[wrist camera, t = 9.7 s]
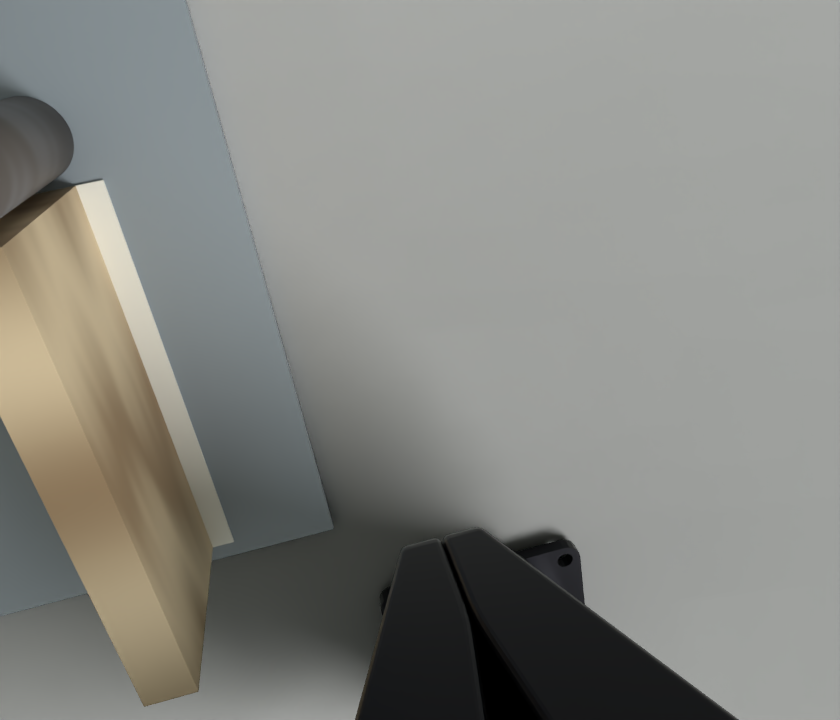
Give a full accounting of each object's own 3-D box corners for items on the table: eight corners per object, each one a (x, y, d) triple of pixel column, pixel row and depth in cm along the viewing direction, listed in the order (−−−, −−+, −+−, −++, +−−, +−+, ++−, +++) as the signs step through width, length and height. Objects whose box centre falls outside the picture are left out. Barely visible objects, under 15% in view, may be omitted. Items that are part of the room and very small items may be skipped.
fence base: (223, 536, 21) (208, 726, 15) (161, 552, 21) (122, 750, 15) (58, 87, 16) (-61, 121, 10) (-28, 104, 15) (-200, 148, 10)
